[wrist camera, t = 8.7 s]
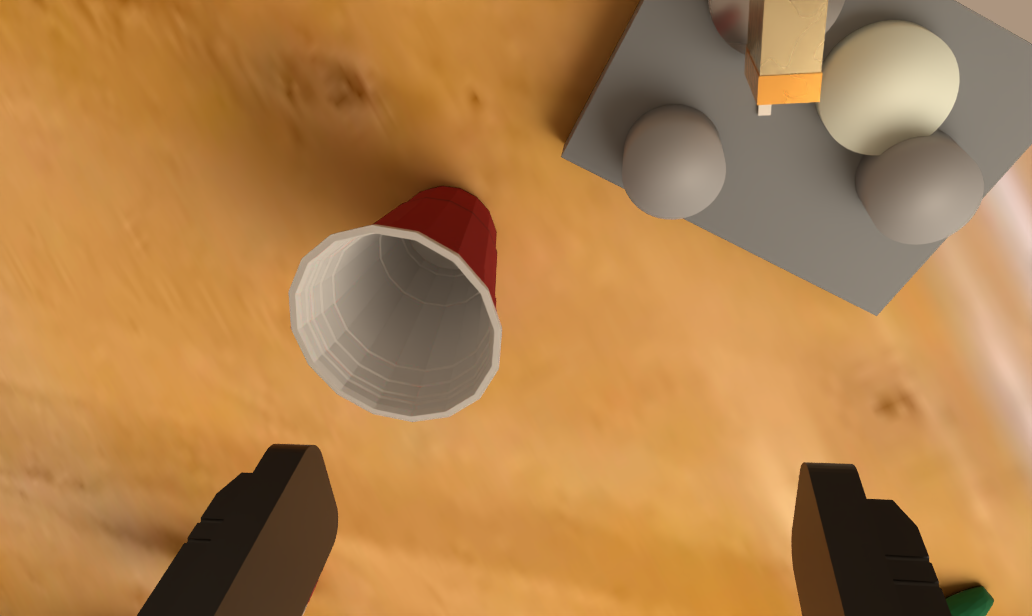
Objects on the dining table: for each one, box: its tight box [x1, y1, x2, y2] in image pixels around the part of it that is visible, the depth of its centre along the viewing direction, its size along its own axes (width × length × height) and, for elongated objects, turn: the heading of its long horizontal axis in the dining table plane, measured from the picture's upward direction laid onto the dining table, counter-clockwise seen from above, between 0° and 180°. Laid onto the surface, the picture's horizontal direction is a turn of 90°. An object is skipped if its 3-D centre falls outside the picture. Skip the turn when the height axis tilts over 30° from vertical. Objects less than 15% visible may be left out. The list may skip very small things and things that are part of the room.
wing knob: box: [708, 0, 845, 105], centre depth 33 cm, size 7×6×6 cm
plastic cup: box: [289, 186, 502, 422], centre depth 42 cm, size 11×11×12 cm
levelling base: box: [561, 0, 1032, 316], centre depth 38 cm, size 20×15×5 cm
